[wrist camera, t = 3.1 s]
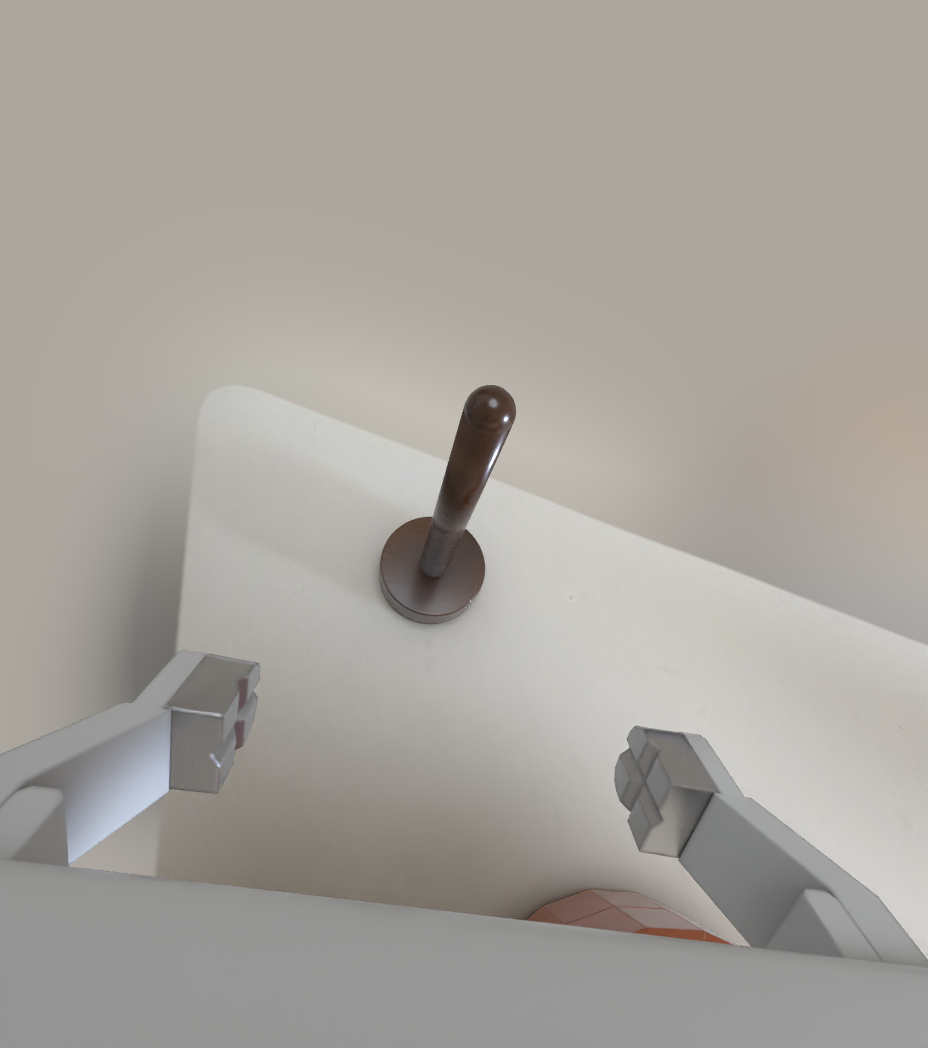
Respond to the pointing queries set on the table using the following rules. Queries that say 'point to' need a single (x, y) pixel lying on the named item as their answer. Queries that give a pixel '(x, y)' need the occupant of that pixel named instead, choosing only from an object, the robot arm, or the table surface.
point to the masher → (449, 521)
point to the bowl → (623, 915)
